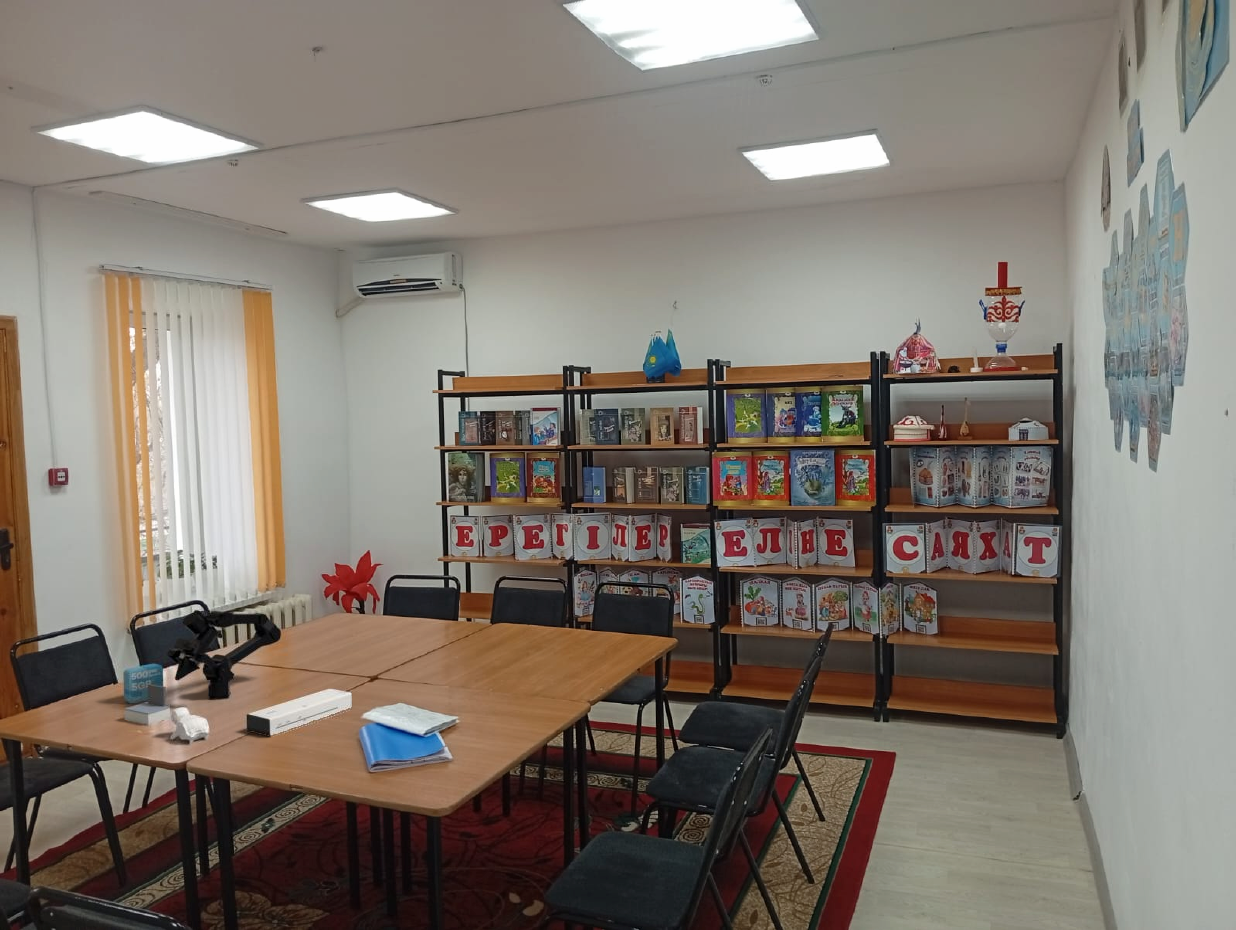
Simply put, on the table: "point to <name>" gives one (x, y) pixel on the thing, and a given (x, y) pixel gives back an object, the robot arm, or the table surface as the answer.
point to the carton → (147, 717)
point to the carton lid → (152, 701)
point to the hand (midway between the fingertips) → (176, 679)
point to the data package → (141, 681)
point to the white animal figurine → (189, 725)
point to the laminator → (298, 711)
